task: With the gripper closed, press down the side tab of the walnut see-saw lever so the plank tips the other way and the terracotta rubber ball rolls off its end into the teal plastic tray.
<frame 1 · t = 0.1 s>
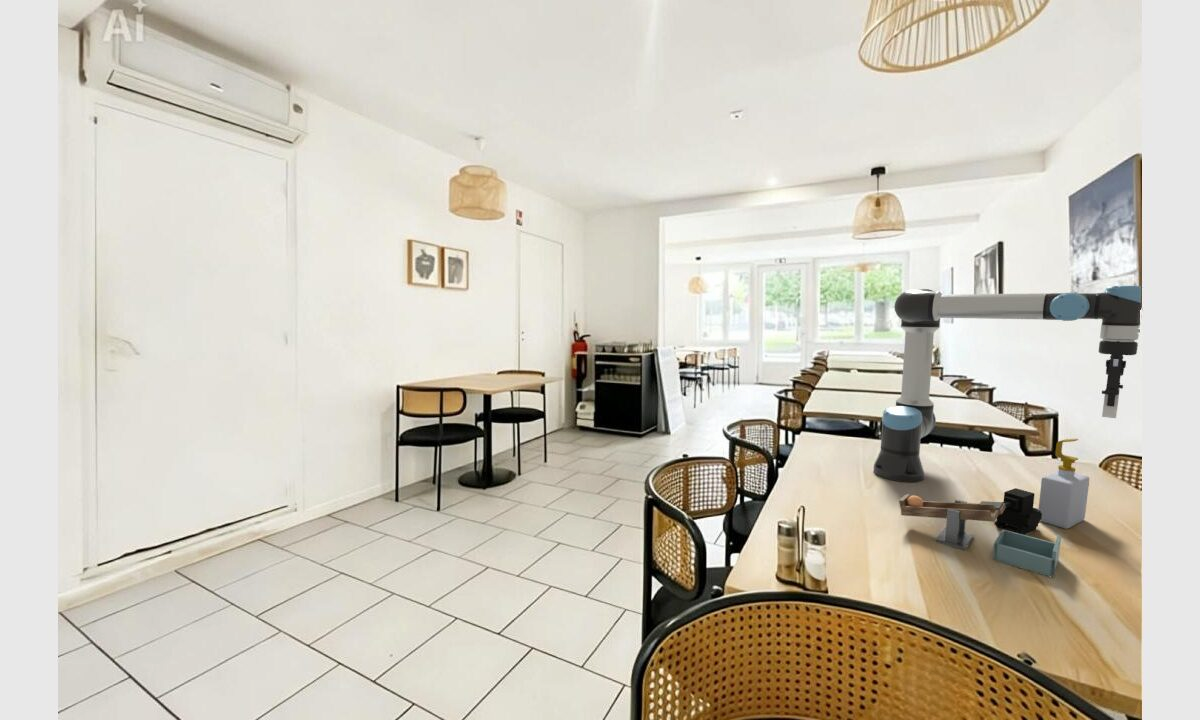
hand: (1109, 413, 142), 28 cm above the table, fingers open, 13 cm apart
stand: (954, 539, 125), on the table
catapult: (950, 503, 128), point 8 cm above the table, hinge at -14.0°, touching ball
ball: (915, 502, 131), point 7 cm above the table, tilted 24°, touching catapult
tray: (1025, 560, 115), on the table
soap bottle: (1060, 521, 136), on the table
toy: (1011, 531, 130), on the table
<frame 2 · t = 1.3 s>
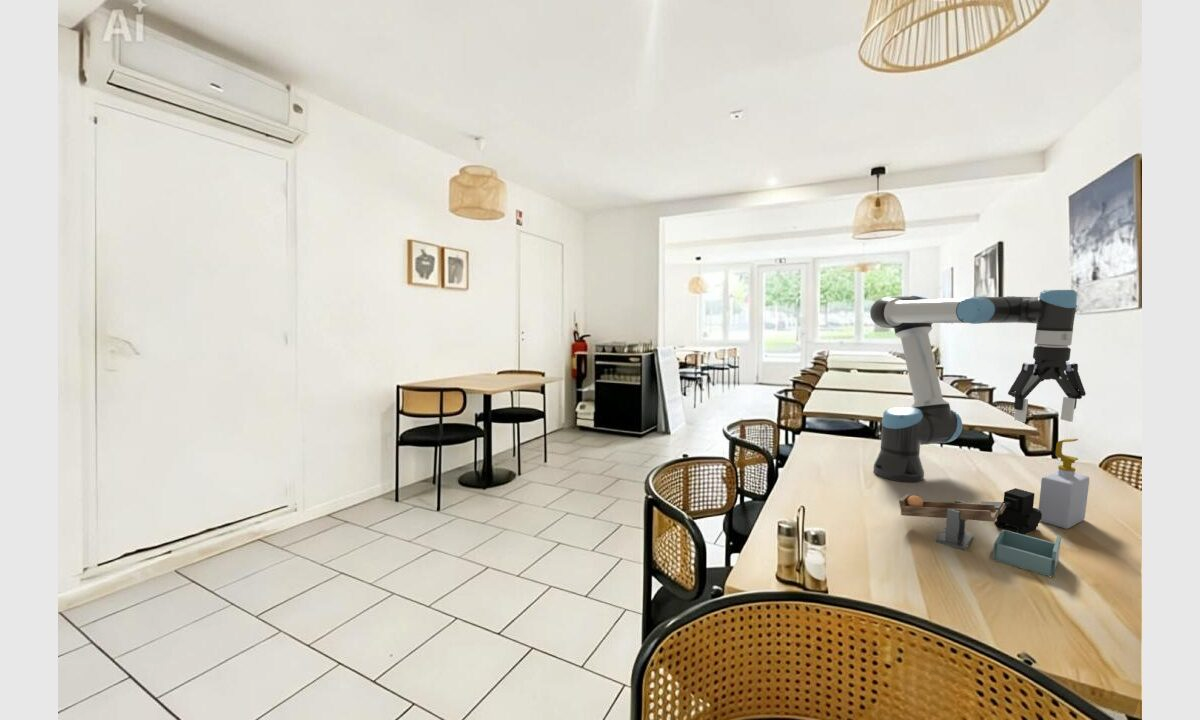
hand: (1043, 420, 138), 27 cm above the table, fingers open, 13 cm apart
nothing on the table moved.
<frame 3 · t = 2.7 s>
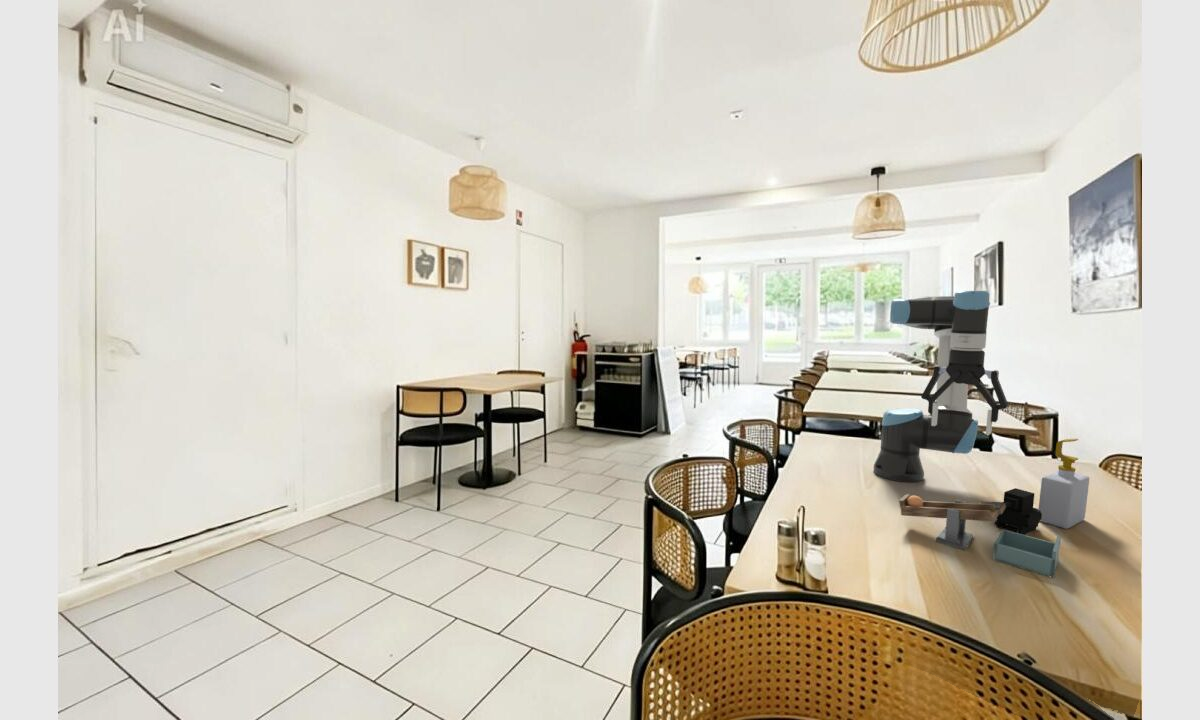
hand: (960, 429, 132), 26 cm above the table, fingers open, 11 cm apart
nothing on the table moved.
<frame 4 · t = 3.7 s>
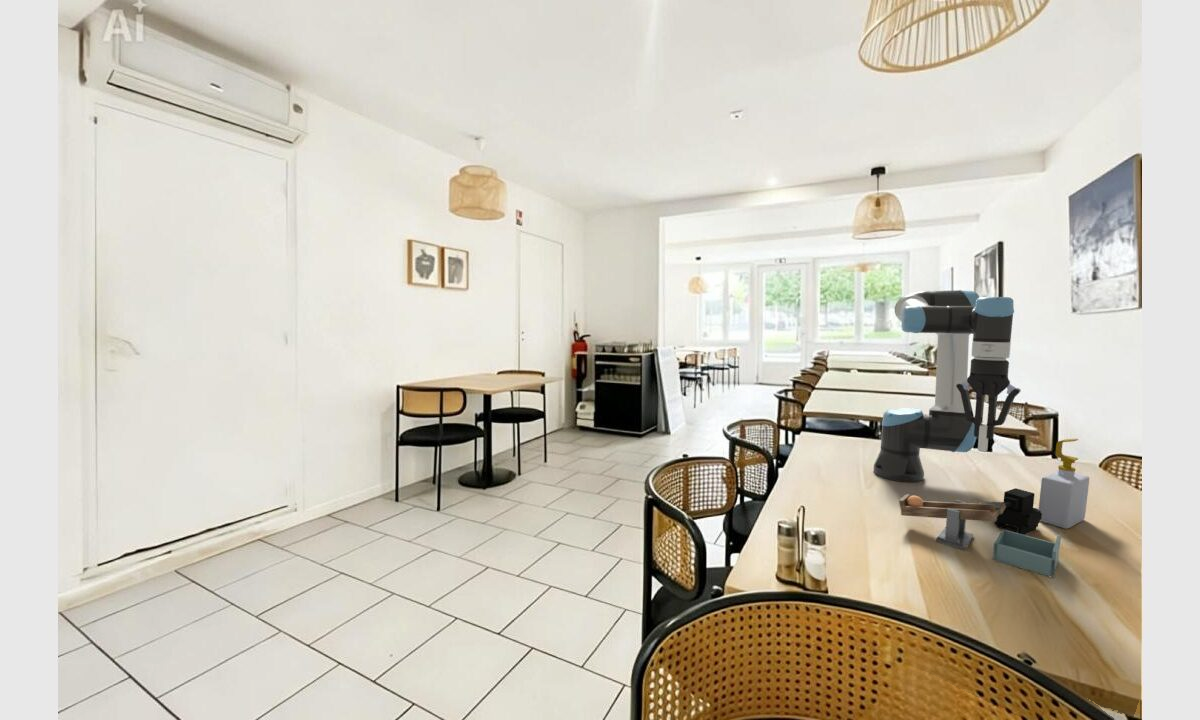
hand: (982, 450, 125), 23 cm above the table, fingers closed
nothing on the table moved.
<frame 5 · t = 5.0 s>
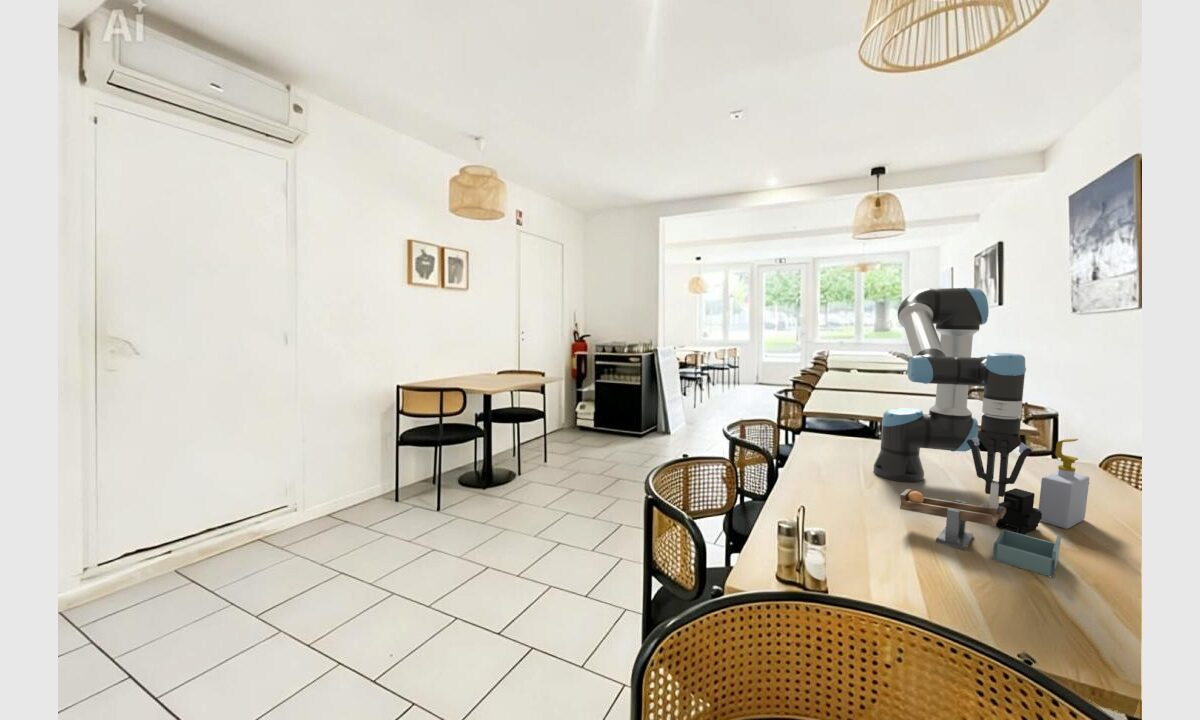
hand: (993, 507, 123), 9 cm above the table, fingers closed
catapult: (951, 502, 128), point 8 cm above the table, hinge at -6.0°, touching ball, gripper
ball: (915, 497, 131), point 8 cm above the table, tilted 16°, touching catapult
everything else where it was.
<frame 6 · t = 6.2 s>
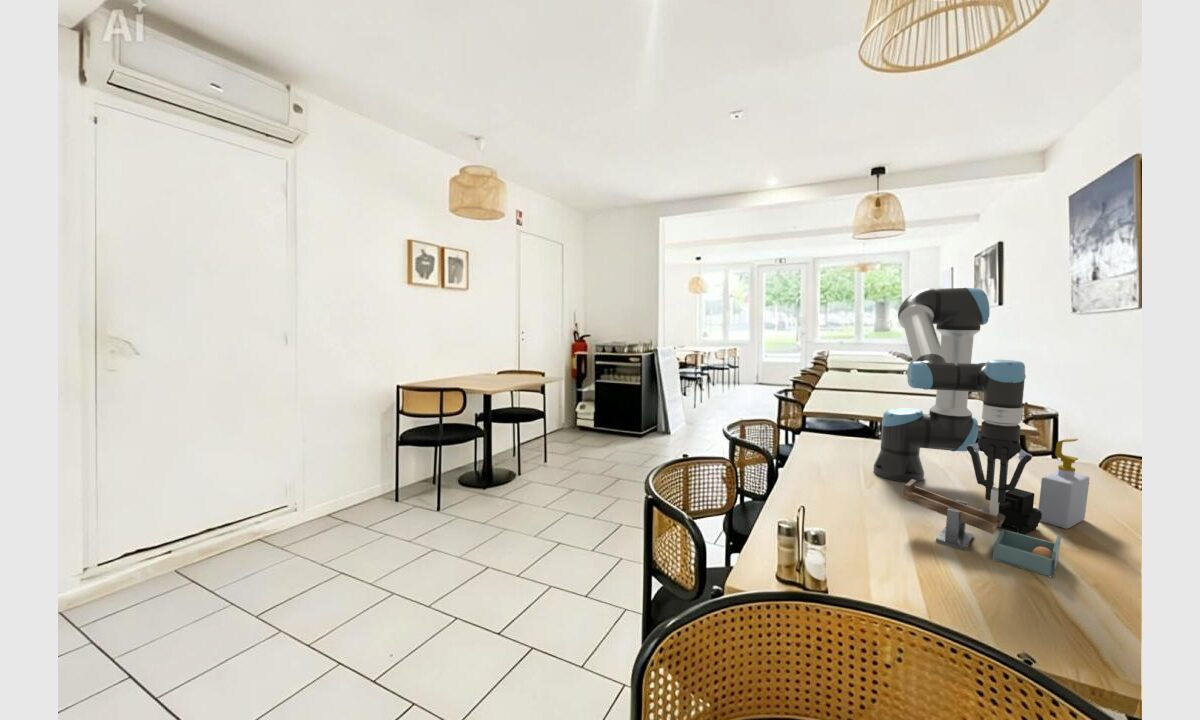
hand: (993, 513, 124), 7 cm above the table, fingers closed
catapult: (953, 501, 127), point 9 cm above the table, hinge at 9.1°, touching gripper
ball: (1042, 555, 113), point 2 cm above the table, tilted 112°, touching tray
everything else where it was.
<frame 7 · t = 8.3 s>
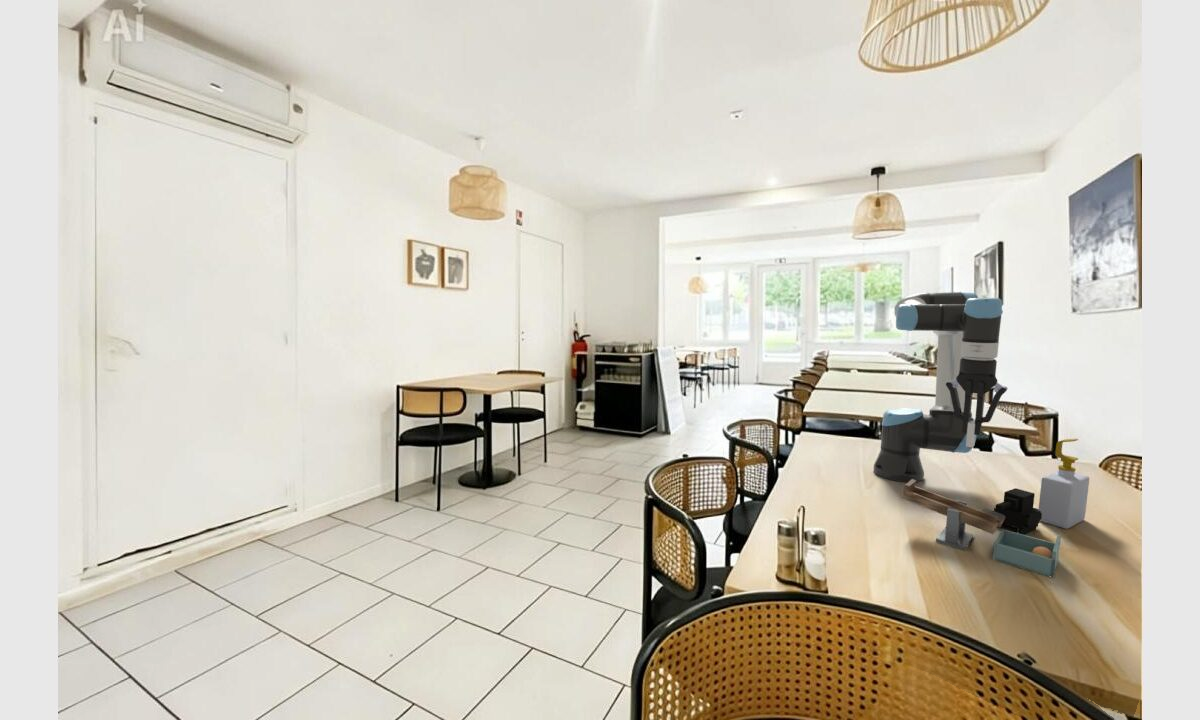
hand: (970, 445, 130), 23 cm above the table, fingers closed
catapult: (953, 501, 127), point 9 cm above the table, hinge at 9.2°
everything else where it was.
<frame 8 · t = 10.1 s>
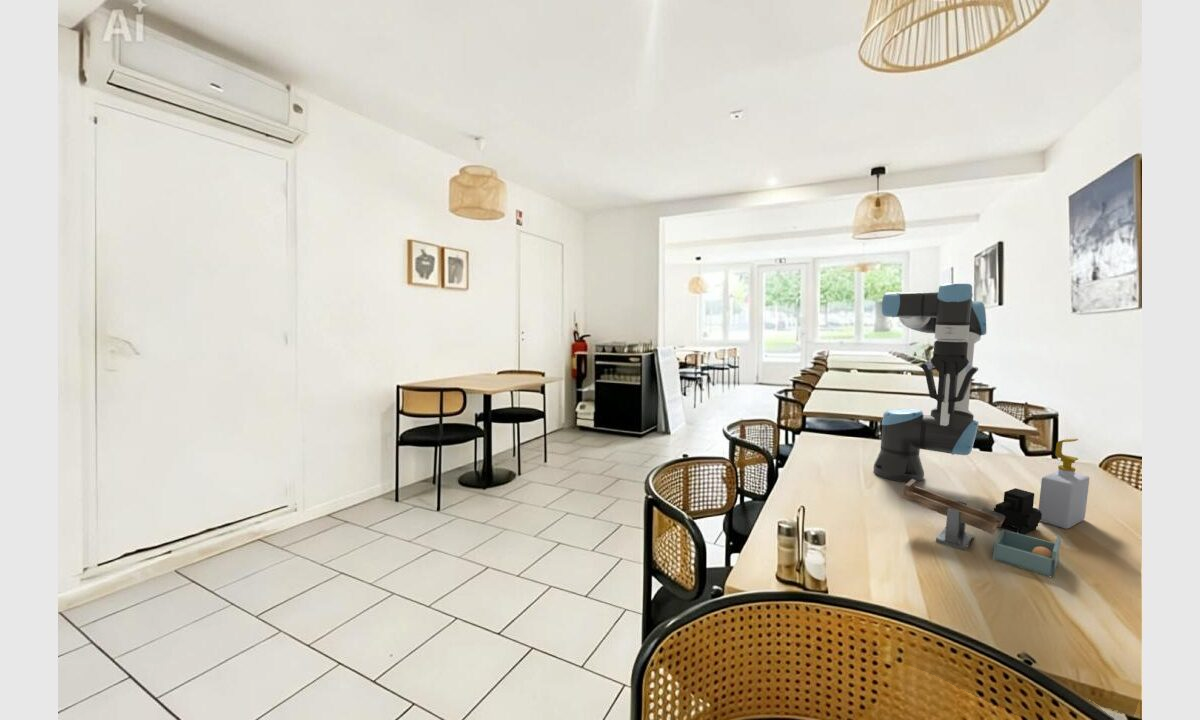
hand: (944, 424, 137), 26 cm above the table, fingers closed
nothing on the table moved.
at the end: ball inside the target area on the tray (2.8 cm from its centre), point 2.4 cm above the tray's base; ball touching tray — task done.
